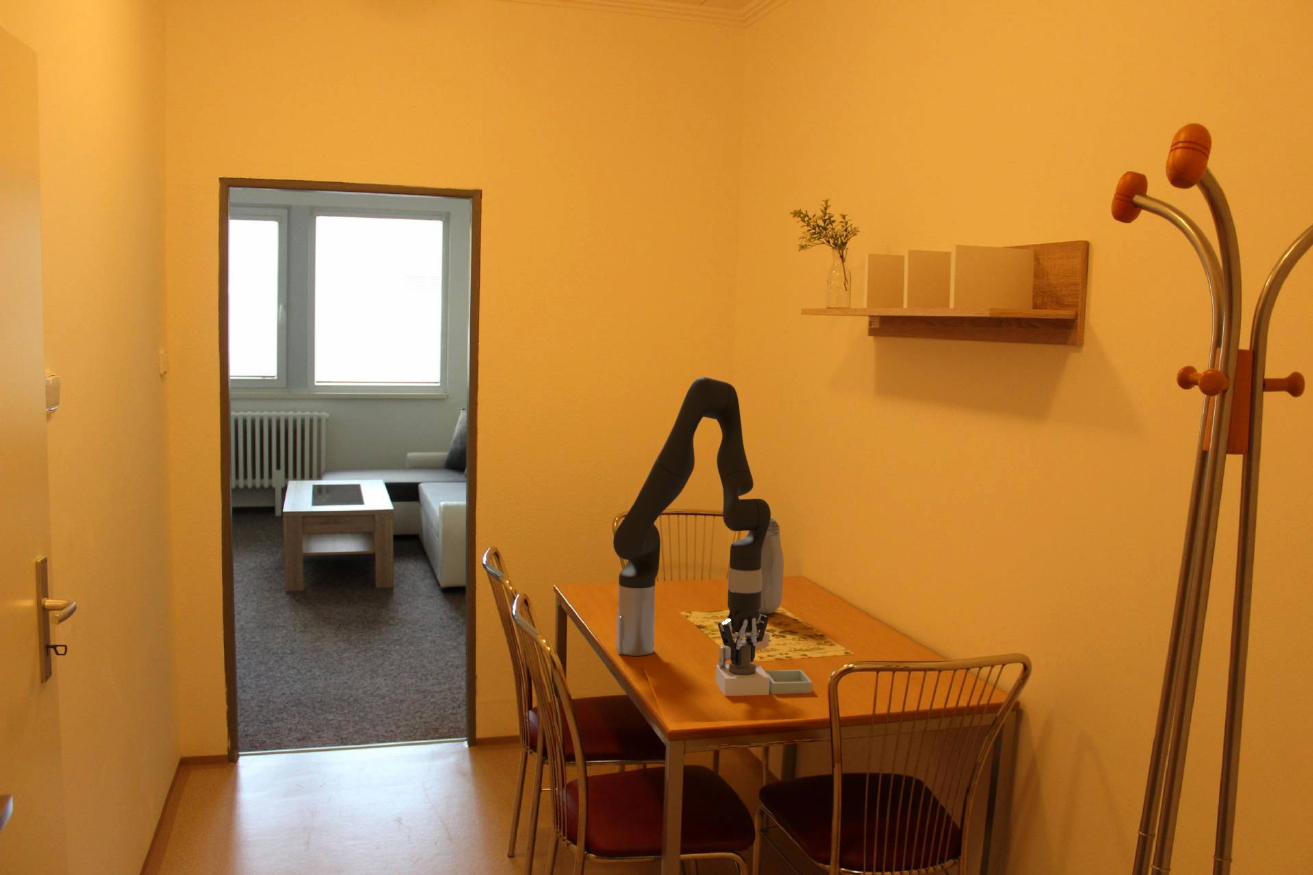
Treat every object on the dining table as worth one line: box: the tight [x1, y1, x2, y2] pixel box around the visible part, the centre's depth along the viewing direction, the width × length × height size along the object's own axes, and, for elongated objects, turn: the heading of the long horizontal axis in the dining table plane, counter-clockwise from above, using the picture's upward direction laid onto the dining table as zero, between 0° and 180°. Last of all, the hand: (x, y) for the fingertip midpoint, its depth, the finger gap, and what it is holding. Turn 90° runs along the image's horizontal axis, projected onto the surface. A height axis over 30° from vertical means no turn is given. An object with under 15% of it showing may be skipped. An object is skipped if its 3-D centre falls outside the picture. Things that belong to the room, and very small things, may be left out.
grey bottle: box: [759, 518, 785, 615], centre depth 310 cm, size 10×10×28 cm
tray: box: [764, 669, 813, 695], centre depth 242 cm, size 9×9×2 cm
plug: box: [728, 643, 756, 675], centre depth 240 cm, size 6×6×10 cm
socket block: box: [715, 663, 770, 697], centre depth 240 cm, size 10×10×4 cm
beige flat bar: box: [718, 632, 770, 668], centre depth 248 cm, size 18×2×5 cm, turn 138°
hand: (742, 662), depth 240 cm, fingers closed on plug, 3 cm apart
